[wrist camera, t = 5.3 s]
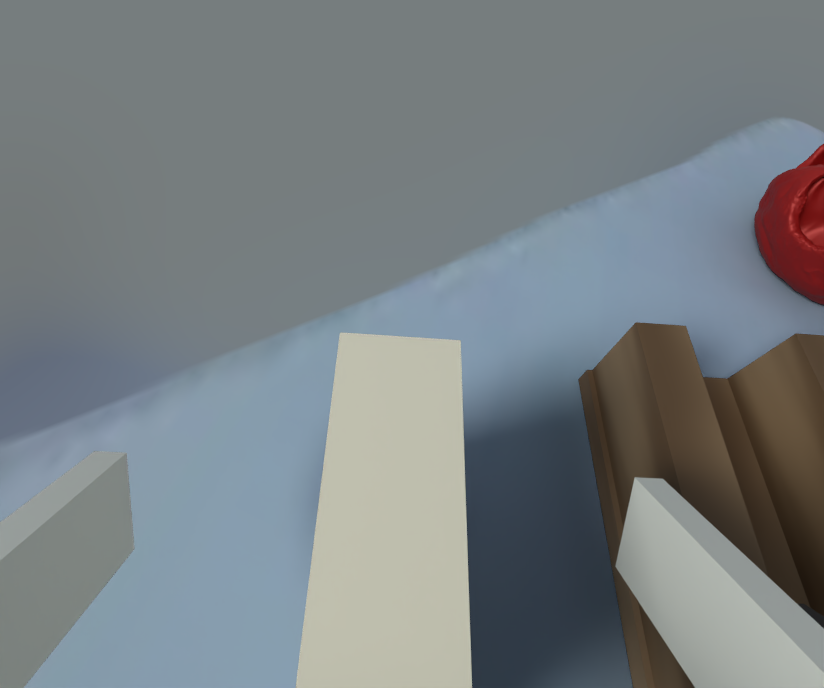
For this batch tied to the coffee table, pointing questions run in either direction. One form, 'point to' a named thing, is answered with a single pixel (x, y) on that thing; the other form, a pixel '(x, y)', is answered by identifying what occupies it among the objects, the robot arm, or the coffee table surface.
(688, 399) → the rack
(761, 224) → the pomegranate
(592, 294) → the coffee table surface
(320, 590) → the cream rectangular block
